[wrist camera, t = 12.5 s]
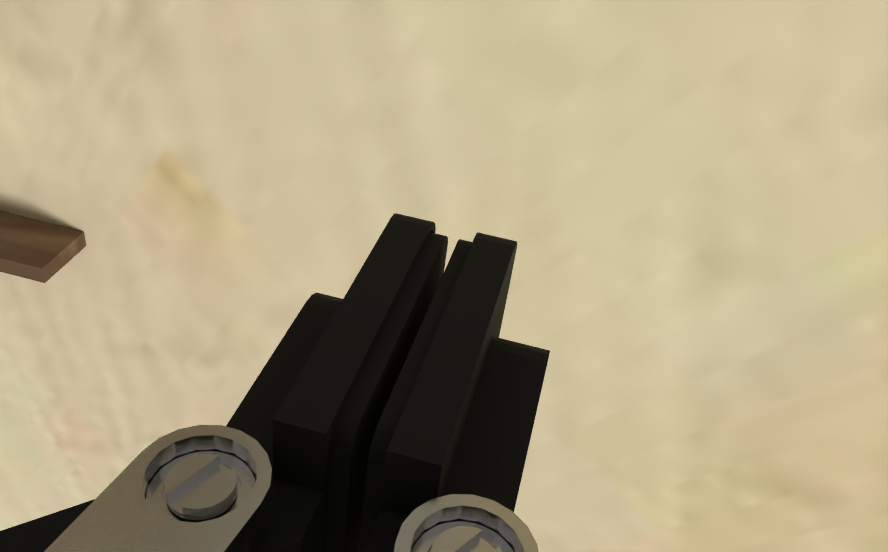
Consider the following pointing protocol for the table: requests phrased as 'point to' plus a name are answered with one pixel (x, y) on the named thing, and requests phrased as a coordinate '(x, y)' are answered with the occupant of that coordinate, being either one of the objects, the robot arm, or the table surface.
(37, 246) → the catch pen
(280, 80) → the table surface
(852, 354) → the table surface
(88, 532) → the robot arm
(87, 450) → the table surface
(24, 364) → the table surface
